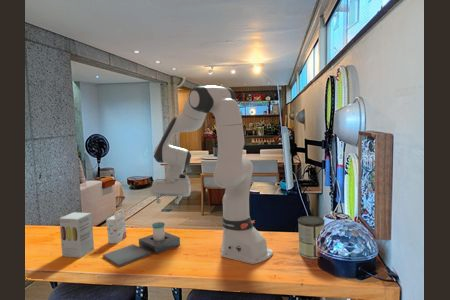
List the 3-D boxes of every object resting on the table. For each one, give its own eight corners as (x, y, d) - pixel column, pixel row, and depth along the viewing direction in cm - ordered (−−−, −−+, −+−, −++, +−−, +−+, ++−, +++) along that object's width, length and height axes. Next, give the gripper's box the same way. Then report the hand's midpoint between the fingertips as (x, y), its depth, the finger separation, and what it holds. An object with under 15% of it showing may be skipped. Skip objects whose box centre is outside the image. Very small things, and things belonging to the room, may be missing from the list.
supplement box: (61, 256, 132) (58, 218, 131) (76, 247, 141) (73, 211, 140) (81, 258, 130) (77, 218, 128) (95, 249, 139) (91, 212, 137)
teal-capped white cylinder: (168, 245, 140) (166, 223, 139) (158, 249, 136) (156, 227, 135) (161, 242, 143) (159, 221, 142) (151, 246, 140) (149, 224, 139)
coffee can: (303, 246, 133) (302, 214, 132) (327, 251, 127) (327, 217, 126) (294, 255, 124) (294, 221, 123) (320, 261, 119) (320, 225, 117)
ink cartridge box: (117, 236, 153) (115, 207, 152) (126, 237, 152) (124, 207, 151) (107, 243, 145) (105, 212, 143) (117, 244, 144) (115, 213, 142)
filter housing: (180, 244, 140) (179, 237, 139) (155, 254, 131) (154, 246, 130) (163, 238, 149) (162, 230, 148) (139, 246, 140) (138, 239, 139)
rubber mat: (150, 254, 130) (150, 252, 130) (119, 267, 120) (119, 264, 120) (133, 246, 140) (133, 244, 140) (103, 257, 130) (102, 254, 130)
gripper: (152, 175, 158) (144, 199, 150) (190, 175, 155) (185, 200, 146) (155, 182, 163) (149, 206, 154) (193, 182, 159) (188, 206, 151)
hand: (167, 203), depth 150 cm, fingers open, 8 cm apart
